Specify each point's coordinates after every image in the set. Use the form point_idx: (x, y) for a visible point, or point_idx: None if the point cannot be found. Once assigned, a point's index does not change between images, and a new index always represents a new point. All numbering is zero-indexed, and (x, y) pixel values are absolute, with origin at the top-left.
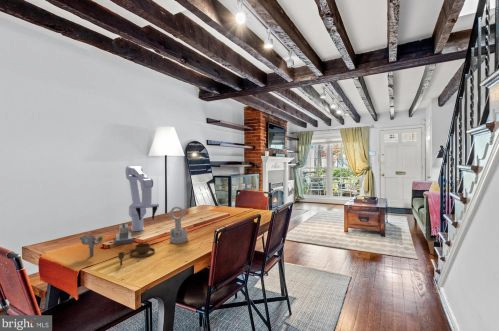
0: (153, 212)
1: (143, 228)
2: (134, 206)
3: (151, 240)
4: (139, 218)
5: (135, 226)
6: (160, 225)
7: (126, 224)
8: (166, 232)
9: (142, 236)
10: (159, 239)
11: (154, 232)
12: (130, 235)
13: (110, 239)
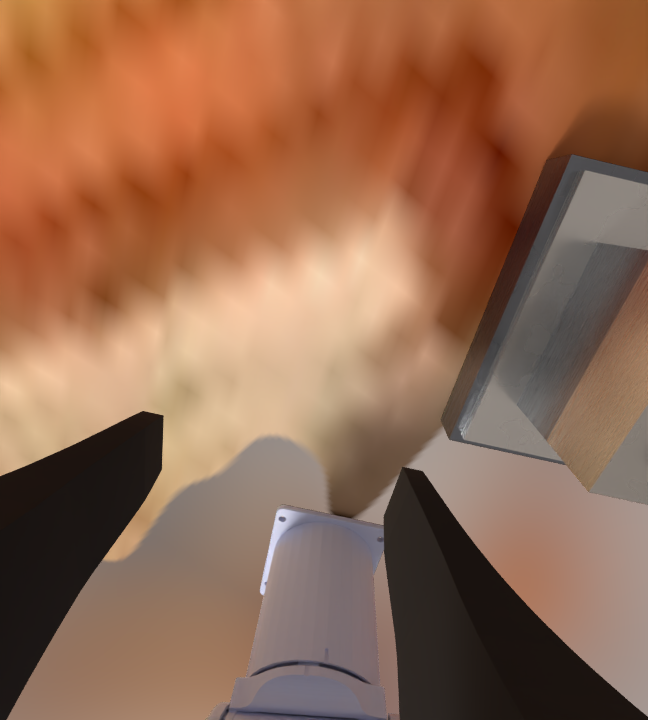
0: (16, 509)
1: (274, 541)
2: None
3: (323, 104)
4: (438, 494)
5: (353, 565)
6: (116, 552)
7: (617, 481)
8: (92, 322)
9: (357, 338)
10: (221, 78)
11: (209, 396)
12: (528, 317)
13: None
